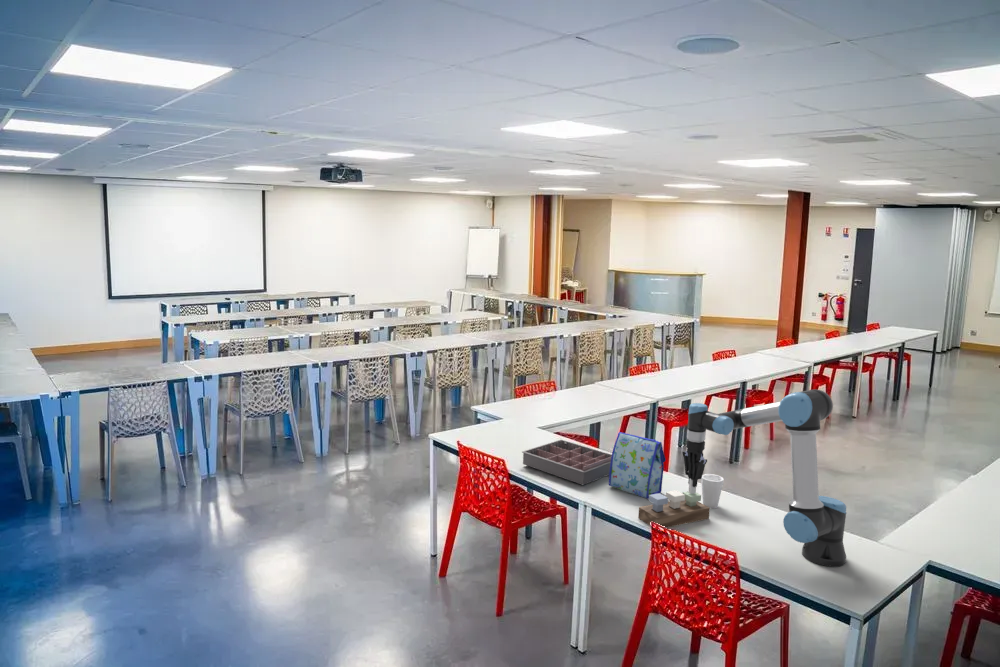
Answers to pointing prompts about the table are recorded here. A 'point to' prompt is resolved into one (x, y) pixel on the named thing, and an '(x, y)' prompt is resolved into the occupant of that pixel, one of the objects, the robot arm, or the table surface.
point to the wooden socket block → (674, 514)
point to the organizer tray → (569, 461)
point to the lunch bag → (637, 465)
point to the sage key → (691, 498)
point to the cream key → (675, 498)
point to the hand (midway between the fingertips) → (692, 492)
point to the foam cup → (711, 489)
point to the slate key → (658, 501)
